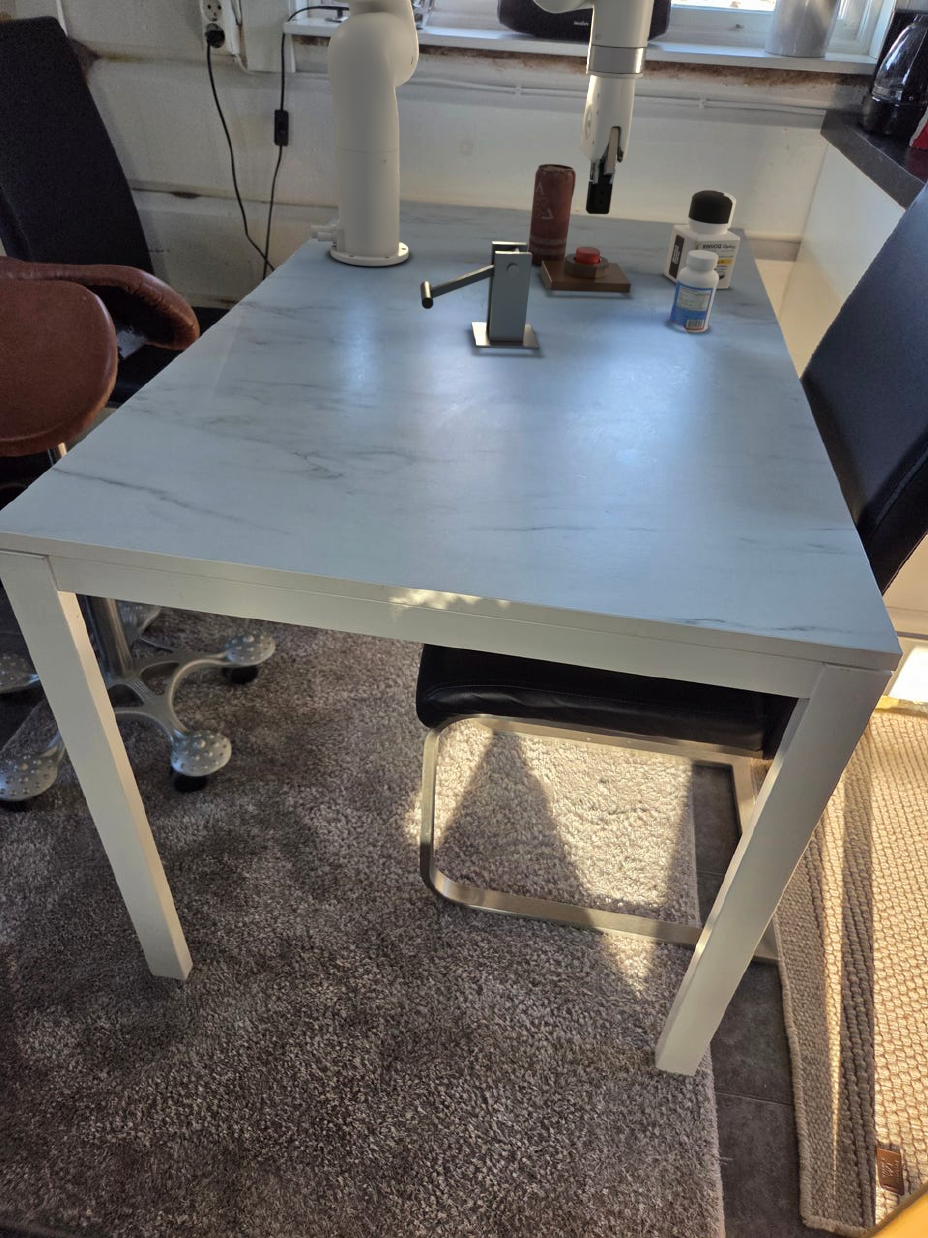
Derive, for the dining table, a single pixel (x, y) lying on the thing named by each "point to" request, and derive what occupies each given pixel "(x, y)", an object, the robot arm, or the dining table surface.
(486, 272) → the tap lever
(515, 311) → the grey lever stand
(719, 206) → the container
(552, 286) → the button block
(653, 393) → the dining table surface
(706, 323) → the pill bottle
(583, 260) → the button
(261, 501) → the dining table surface
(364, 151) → the robot arm
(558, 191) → the can
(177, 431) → the dining table surface
